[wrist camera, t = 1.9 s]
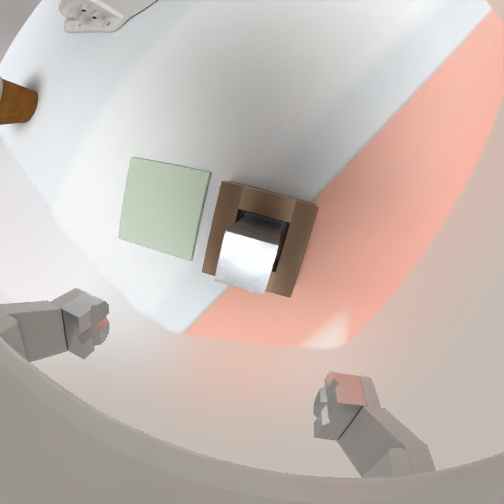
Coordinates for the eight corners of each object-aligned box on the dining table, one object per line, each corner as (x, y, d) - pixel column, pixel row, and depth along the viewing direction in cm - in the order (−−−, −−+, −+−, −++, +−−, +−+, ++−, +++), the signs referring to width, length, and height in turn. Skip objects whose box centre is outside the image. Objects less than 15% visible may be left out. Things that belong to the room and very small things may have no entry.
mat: (120, 237, 34) (118, 238, 34) (133, 157, 31) (131, 157, 31) (192, 259, 34) (190, 261, 33) (210, 172, 31) (209, 172, 30)
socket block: (211, 261, 33) (201, 271, 30) (230, 181, 31) (221, 181, 27) (290, 284, 33) (290, 297, 29) (314, 204, 30) (318, 207, 26)
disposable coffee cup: (19, 93, 31) (-23, 88, 19) (46, 76, 29) (-1, 64, 18) (15, 136, 33) (-31, 136, 21) (40, 122, 32) (-11, 118, 20)
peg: (240, 245, 32) (214, 280, 21) (248, 212, 31) (225, 231, 20) (273, 254, 32) (264, 295, 21) (282, 221, 31) (278, 245, 20)
